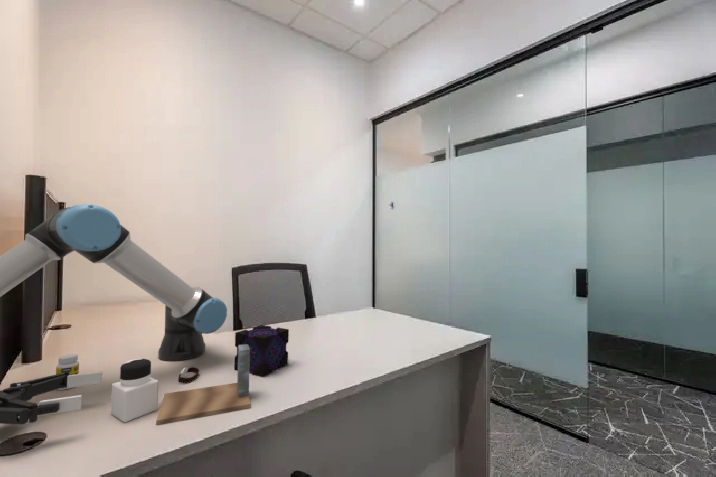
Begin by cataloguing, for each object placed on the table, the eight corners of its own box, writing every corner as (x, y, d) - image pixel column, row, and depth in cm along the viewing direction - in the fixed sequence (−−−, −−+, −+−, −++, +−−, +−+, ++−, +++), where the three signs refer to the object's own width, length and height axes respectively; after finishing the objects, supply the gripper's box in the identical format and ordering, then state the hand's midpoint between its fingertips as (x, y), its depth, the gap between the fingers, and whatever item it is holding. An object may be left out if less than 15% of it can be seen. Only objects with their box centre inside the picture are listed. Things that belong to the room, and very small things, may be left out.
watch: (188, 374, 100) (188, 362, 100) (203, 374, 100) (203, 362, 100) (173, 384, 92) (173, 372, 92) (189, 385, 92) (189, 372, 92)
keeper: (156, 425, 71) (158, 366, 72) (164, 397, 84) (166, 347, 84) (250, 407, 80) (251, 355, 80) (245, 385, 92) (246, 339, 93)
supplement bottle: (58, 392, 86) (59, 360, 86) (52, 387, 88) (53, 356, 88) (81, 385, 90) (82, 355, 90) (74, 381, 92) (75, 352, 92)
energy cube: (260, 358, 114) (261, 324, 114) (287, 364, 109) (288, 329, 109) (234, 370, 103) (235, 332, 103) (262, 377, 98) (263, 338, 98)
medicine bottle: (157, 410, 78) (159, 360, 78) (124, 423, 72) (125, 369, 72) (143, 401, 82) (145, 354, 82) (110, 413, 76) (112, 362, 76)
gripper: (-3, 398, 76) (107, 383, 84) (-96, 464, 53) (69, 435, 62) (-2, 366, 76) (108, 354, 85) (-94, 418, 53) (70, 395, 62)
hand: (92, 388), depth 73 cm, fingers open, 13 cm apart
